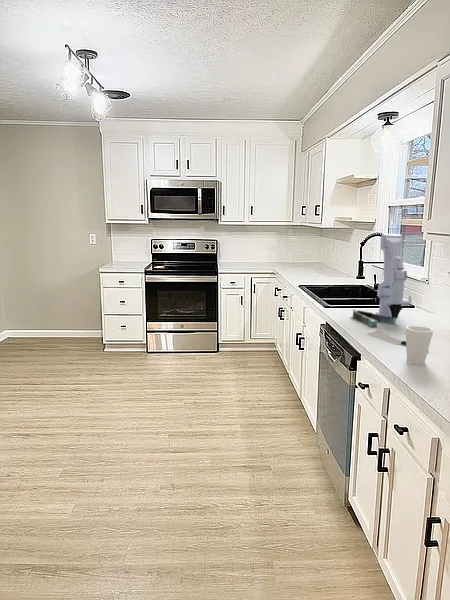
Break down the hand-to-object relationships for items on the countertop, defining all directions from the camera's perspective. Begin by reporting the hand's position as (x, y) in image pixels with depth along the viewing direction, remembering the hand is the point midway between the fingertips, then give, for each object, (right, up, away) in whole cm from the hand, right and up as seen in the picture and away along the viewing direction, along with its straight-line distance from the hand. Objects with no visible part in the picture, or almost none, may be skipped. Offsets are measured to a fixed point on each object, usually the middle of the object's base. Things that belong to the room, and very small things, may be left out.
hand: (394, 318), depth 238 cm
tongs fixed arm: (-16, -2, -3) cm, 17 cm away
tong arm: (-10, 0, +2) cm, 10 cm away
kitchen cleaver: (-13, -9, -37) cm, 40 cm away
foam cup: (-15, -14, -63) cm, 66 cm away
